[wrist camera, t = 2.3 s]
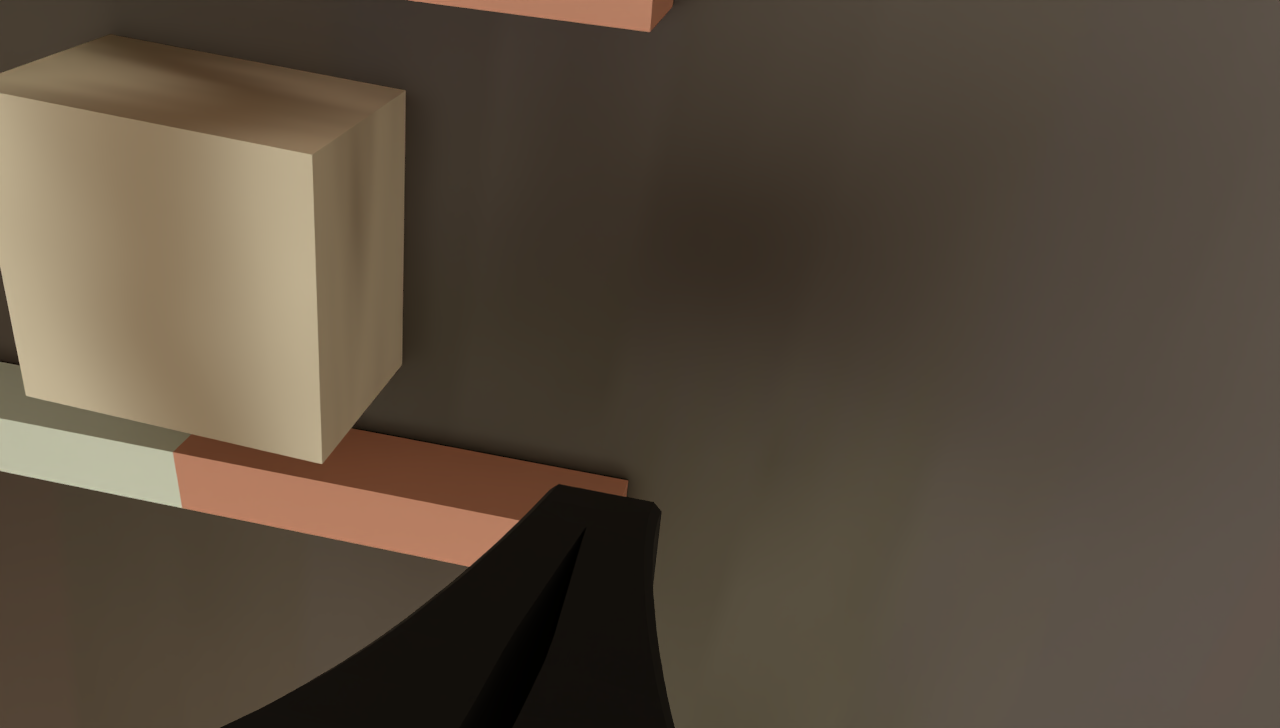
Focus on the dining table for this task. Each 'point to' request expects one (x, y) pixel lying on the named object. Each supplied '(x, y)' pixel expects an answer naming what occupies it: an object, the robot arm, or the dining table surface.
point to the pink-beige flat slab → (298, 489)
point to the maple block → (203, 241)
